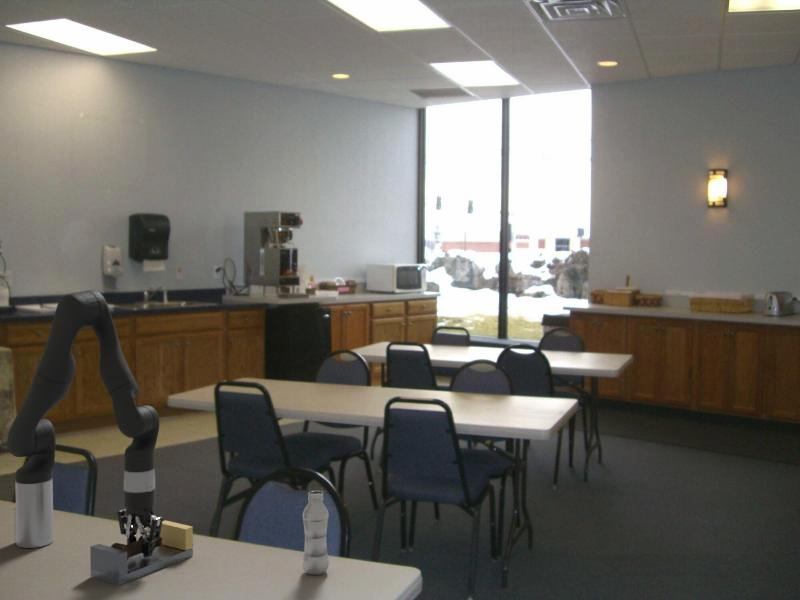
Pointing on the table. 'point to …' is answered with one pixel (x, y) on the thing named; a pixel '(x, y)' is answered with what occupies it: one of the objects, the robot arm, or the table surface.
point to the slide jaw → (176, 535)
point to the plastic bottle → (315, 534)
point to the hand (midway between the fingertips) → (140, 554)
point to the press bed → (131, 562)
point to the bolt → (135, 546)
